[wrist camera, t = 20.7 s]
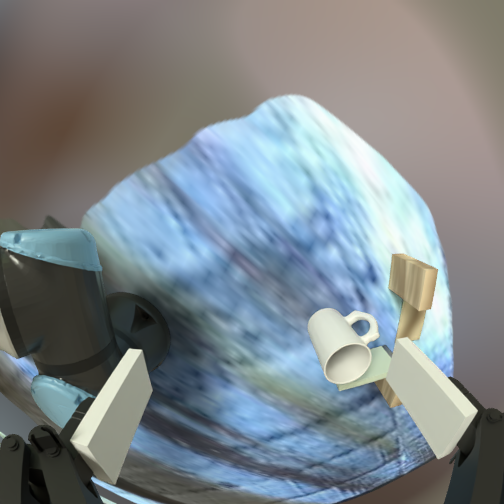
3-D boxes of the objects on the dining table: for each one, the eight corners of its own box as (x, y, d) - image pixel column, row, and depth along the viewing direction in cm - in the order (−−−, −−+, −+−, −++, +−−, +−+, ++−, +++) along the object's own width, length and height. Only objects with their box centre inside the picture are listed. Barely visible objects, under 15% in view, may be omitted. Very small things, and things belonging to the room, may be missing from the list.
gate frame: (370, 376, 46) (390, 407, 37) (392, 254, 41) (425, 270, 31) (409, 368, 47) (432, 395, 37) (434, 252, 41) (469, 266, 31)
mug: (319, 348, 44) (338, 391, 33) (297, 323, 43) (314, 365, 31) (365, 313, 43) (397, 348, 32) (347, 285, 42) (379, 316, 30)
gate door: (386, 344, 44) (406, 367, 37) (386, 349, 45) (405, 372, 37) (327, 359, 45) (340, 386, 37) (327, 364, 45) (339, 392, 37)
